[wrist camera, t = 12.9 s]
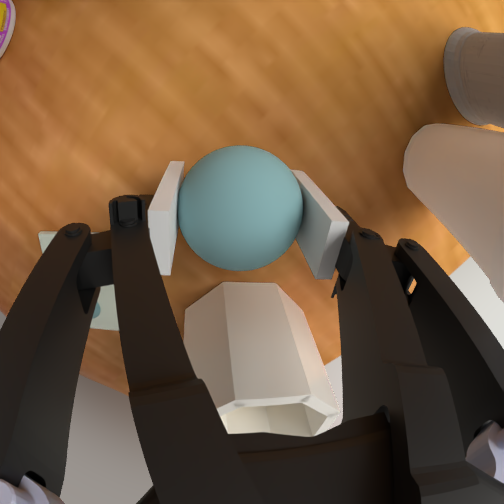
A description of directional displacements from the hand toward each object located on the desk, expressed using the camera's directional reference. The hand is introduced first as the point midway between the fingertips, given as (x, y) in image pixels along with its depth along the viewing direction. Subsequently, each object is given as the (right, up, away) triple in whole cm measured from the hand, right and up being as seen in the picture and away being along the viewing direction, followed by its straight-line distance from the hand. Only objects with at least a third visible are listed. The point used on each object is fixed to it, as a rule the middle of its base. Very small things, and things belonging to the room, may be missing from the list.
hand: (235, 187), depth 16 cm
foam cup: (+15, +3, +3) cm, 16 cm away
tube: (0, -10, +8) cm, 13 cm away
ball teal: (0, 0, 0) cm, 0 cm away
